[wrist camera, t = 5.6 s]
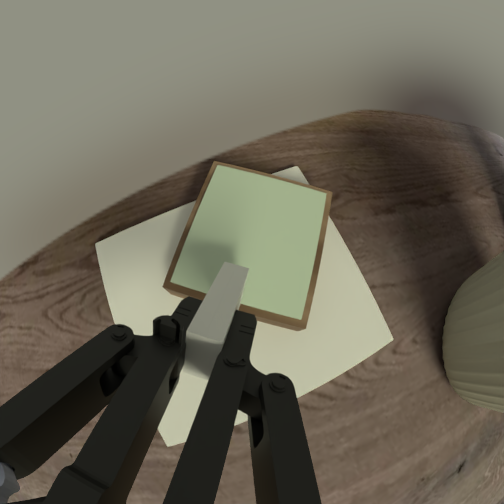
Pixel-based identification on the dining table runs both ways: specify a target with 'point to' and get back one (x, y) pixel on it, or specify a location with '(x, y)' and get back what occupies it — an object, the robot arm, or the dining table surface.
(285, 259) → the green-topped wooden box
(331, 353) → the white flat sheet
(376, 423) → the dining table surface
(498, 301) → the canister
